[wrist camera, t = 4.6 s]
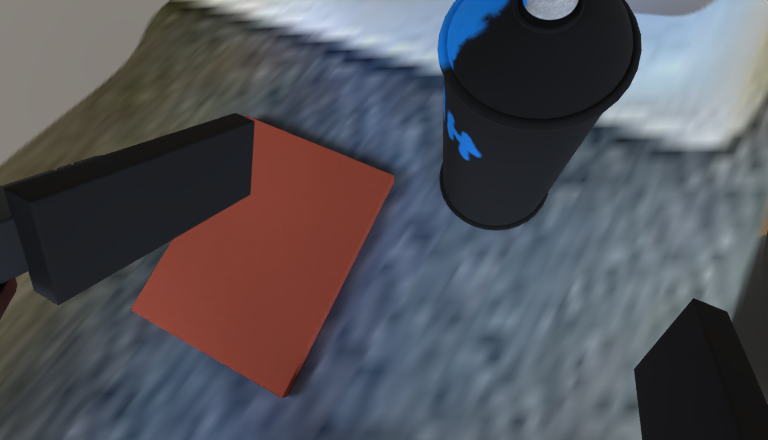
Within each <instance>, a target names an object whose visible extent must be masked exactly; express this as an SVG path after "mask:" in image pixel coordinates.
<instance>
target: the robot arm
mask: <svg viewBox="0 0 768 440" xmlns="http://www.w3.org/2000/svg"><path fill="white" fill-rule="evenodd" d="M254 126H255V121H254V120H251V119H249V118H246V117H244V116H241V115H239V114H236V113H234V114H231V115H228V116H224V117H221V118H218V119H215V120H212V121H209V122H206V123H203V124H200V125H196V126H193V127H190V128H187V129H184V130H181V131H178V132H175V133H171V134H168V135H165V136H162V137H159V138H156V139H153V140H150V141H147V142H143V143H140V144H137V145H134V146H131V147H128V148H125V149H122V150H119V151H115V152H112V153H109V154H106V155H101V156H94V157H91V158H88V159H85V160H81V161H78V162H75V163H74V164H73V165H71V164H69V165H66V166H63V167H59V168H57V170H56V171H55V170H50V171H47V172H44V173H40V174H37V175H34V176H31V177H28V178H25V179H22V180H18V181H15V182H12V183H9V184H6V185H3V186H0V319H1V317H2V315H3V313H4V312H5V310H6V308H7V306H8V304H9V303H10V301H11V299H12V297H13V296H14V294H15V292H16V288H17V282H16V279H15V277H17V276H19V275H21V274H23V273H25V272H27V271H29V275H30V278H31V281H32V285H33V288H34V291H35V292H37V293H39V294H40V295H42V296H44V297H45V298H47V299H49V300H50V301H52V302H53V303H55V304H57V305H60V304H62V303H63V302H65V301H67V300H69V299H70V298H72V297H74V296H75V295H77V294H79V293H81V292H82V291H84V290H86V289H88V288H89V287H91V286H93V285H95V284H96V283H98V282H100V281H102V280H103V279H105V278H107V277H108V276H110V275H112V274H114V273H115V272H117V271H119V270H121V269H122V268H124V267H126V266H128V265H129V264H131V263H133V262H135V261H136V260H138V259H140V258H141V257H143V256H145V255H147V254H148V253H150V252H152V251H154V250H155V249H157V248H159V247H161V246H162V245H164V244H166V243H168V242H169V241H171V240H173V239H174V238H176V237H178V236H180V235H181V234H183V233H185V232H187V231H188V230H190V229H192V228H194V227H195V226H197V225H199V224H201V223H202V222H204V221H206V220H207V219H209V218H211V217H213V216H214V215H216V214H218V213H220V212H221V211H223V210H225V209H227V208H228V207H230V206H232V205H234V204H235V203H237V202H239V201H240V200H242V199H244V198H246V197H247V196H249V195H251V179H252V161H253V144H254ZM634 372H635V381H636V390H637V398H638V407H639V415H640V424H641V432H642V440H768V405H767V402H766V400H765V398H764V395H763V393H762V391H761V389H760V386H759V384H758V382H757V379H756V377H755V375H754V372H753V370H752V368H751V366H750V363H749V361H748V359H747V356H746V354H745V352H744V349H743V347H742V345H741V343H740V340H739V338H738V336H737V333H736V331H735V329H734V326H733V324H732V322H731V320H730V317H729V315H728V313H727V312H726V311H724V310H721V309H719V308H716V307H714V306H711V305H709V304H707V303H704V302H702V301H699V300H697V299H694V298H693V299H692V301H691V302H690V303H689V304H688V305H687V307H686V308H685V309H684V310H683V311H682V312H681V314H680V315H679V316H678V317H677V318H676V320H675V321H674V322H673V323H672V324H671V326H670V327H669V328H668V329H667V330H666V332H665V333H664V334H663V335H662V336H661V338H660V339H659V340H658V341H657V342H656V344H655V345H654V346H653V347H652V348H651V350H650V351H649V352H648V353H647V354H646V356H645V357H644V358H643V359H642V360H641V362H640V363H639V364H638V365H637V366H636V367H635V369H634Z"/></svg>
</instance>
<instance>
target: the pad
mask: <svg viewBox="0 0 768 440" xmlns="http://www.w3.org/2000/svg"><path fill="white" fill-rule="evenodd" d="M246 118H249V119H251V120H254V121H255V126H254V144H253V161H252V179H251V195H249V196H247V197H246V198H244V199H242V200H240V201H239V202H237V203H235V204H234V205H232V206H230V207H228V208H227V209H225V210H223V211H221V212H220V213H218V214H216V215H214V216H213V217H211V218H209V219H207V220H206V221H204V222H202V223H201V224H199V225H197V226H195V227H194V228H192V229H190V230H188V231H187V232H185V233H183V234H181V235H180V236H178V237H176V238H174V239H173V240H172V242H171V243H170V245H169V247H168V248H167V250H166V252H165V253H164V255H163V257H162V258H161V260H160V262H159V263H158V265H157V267H156V268H155V270H154V272H153V273H152V275H151V277H150V278H149V280H148V281H147V283H146V285H145V286H144V288H143V290H142V291H141V293H140V295H139V296H138V298H137V300H136V301H135V303H134V305H133V306H132V308H131V310H132V311H134V312H135V313H137V314H139V315H140V316H142V317H144V318H146V319H147V320H149V321H151V322H152V323H154V324H156V325H158V326H159V327H161V328H163V329H164V330H166V331H168V332H170V333H171V334H173V335H175V336H176V337H178V338H180V339H182V340H183V341H185V342H187V343H188V344H190V345H192V346H194V347H195V348H197V349H199V350H200V351H202V352H204V353H206V354H207V355H209V356H211V357H212V358H214V359H216V360H218V361H219V362H221V363H223V364H224V365H226V366H228V367H230V368H231V369H233V370H235V371H236V372H238V373H240V374H242V375H243V376H245V377H247V378H248V379H250V380H252V381H254V382H255V383H257V384H259V385H260V386H262V387H264V388H266V389H267V390H269V391H271V392H272V393H274V394H276V395H278V396H279V397H281V398H284V397H287V395H288V393H289V391H290V389H291V387H292V385H293V383H294V381H295V379H296V377H297V375H298V373H299V371H300V369H301V367H302V365H303V363H304V361H305V359H306V357H307V355H308V353H309V351H310V349H311V347H312V345H313V343H314V341H315V339H316V337H317V335H318V333H319V331H320V329H321V327H322V325H323V323H324V321H325V319H326V317H327V315H328V313H329V311H330V309H331V307H332V305H333V303H334V301H335V299H336V297H337V295H338V293H339V291H340V289H341V287H342V285H343V283H344V281H345V279H346V277H347V275H348V273H349V271H350V269H351V267H352V265H353V263H354V261H355V259H356V257H357V255H358V253H359V251H360V249H361V247H362V245H363V243H364V241H365V239H366V237H367V235H368V233H369V231H370V229H371V227H372V225H373V223H374V221H375V219H376V217H377V215H378V213H379V211H380V209H381V207H382V205H383V203H384V201H385V199H386V197H387V195H388V193H389V191H390V189H391V187H392V185H393V183H394V181H395V178H394V175H392V174H389V173H387V172H384V171H382V170H379V169H377V168H374V167H372V166H369V165H367V164H364V163H362V162H360V161H357V160H355V159H352V158H350V157H347V156H345V155H342V154H340V153H337V152H335V151H332V150H330V149H327V148H325V147H323V146H320V145H318V144H315V143H313V142H310V141H308V140H305V139H303V138H300V137H298V136H295V135H293V134H290V133H288V132H286V131H283V130H281V129H278V128H276V127H273V126H271V125H268V124H266V123H263V122H261V121H258V120H256V119H253V118H251V117H249V116H247V117H246Z"/></svg>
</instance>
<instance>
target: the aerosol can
mask: <svg viewBox="0 0 768 440" xmlns="http://www.w3.org/2000/svg"><path fill="white" fill-rule="evenodd" d="M640 55H641V33H640V30H639V27H638V23H637V20H636V17H635V16H634V14H633V12H632V10H631V9H630V7H629V5H628V4H627V2H626V1H625V0H456V1H455V2H454V3H453V5H452V6H451V8H450V10H449V11H448V13H447V15H446V16H445V19H444V22H443V24H442V27H441V30H440V33H439V41H438V56H439V64H440V67H441V70H442V73H443V75H444V112H443V164H442V167H441V170H440V187H441V192H442V195H443V198H444V200H445V201H446V203H447V205H448V206H449V208H450V209H451V210H452V211H453V212H454V213H455V215H456V216H458V217H459V218H460V219H462V220H463V221H464V222H466V223H468V224H470V225H473V226H475V227H478V228H482V229H487V230H504V229H510V228H513V227H516V226H519V225H521V224H523V223H525V222H527V221H528V220H529V219H531V218H532V217H533V216H534V215H535V214H536V213H537V212H538V211H539V210H540V208H541V207H542V206H543V204H544V202H545V200H546V198H547V195H548V191H549V189H550V188H551V186H552V185H553V183H554V182H555V181H556V179H557V178H558V176H559V175H560V173H561V172H562V170H563V169H564V168H565V166H566V165H567V163H568V162H569V160H570V159H571V158H572V156H573V155H574V153H575V152H576V150H577V149H578V147H579V146H580V145H581V143H582V142H583V140H584V139H585V137H586V136H587V134H588V133H589V132H590V130H591V129H592V127H593V126H594V124H595V123H596V122H597V120H598V119H599V117H600V116H601V114H602V113H603V112H604V111H606V110H607V109H608V108H609V107H611V106H612V105H613V104H614V103H616V102H617V101H618V100H619V99H620V97H621V96H622V95H623V94H624V92H625V91H626V90H627V89H628V88H629V86H630V84H631V82H632V80H633V78H634V76H635V74H636V72H637V70H638V65H639V60H640Z"/></svg>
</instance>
